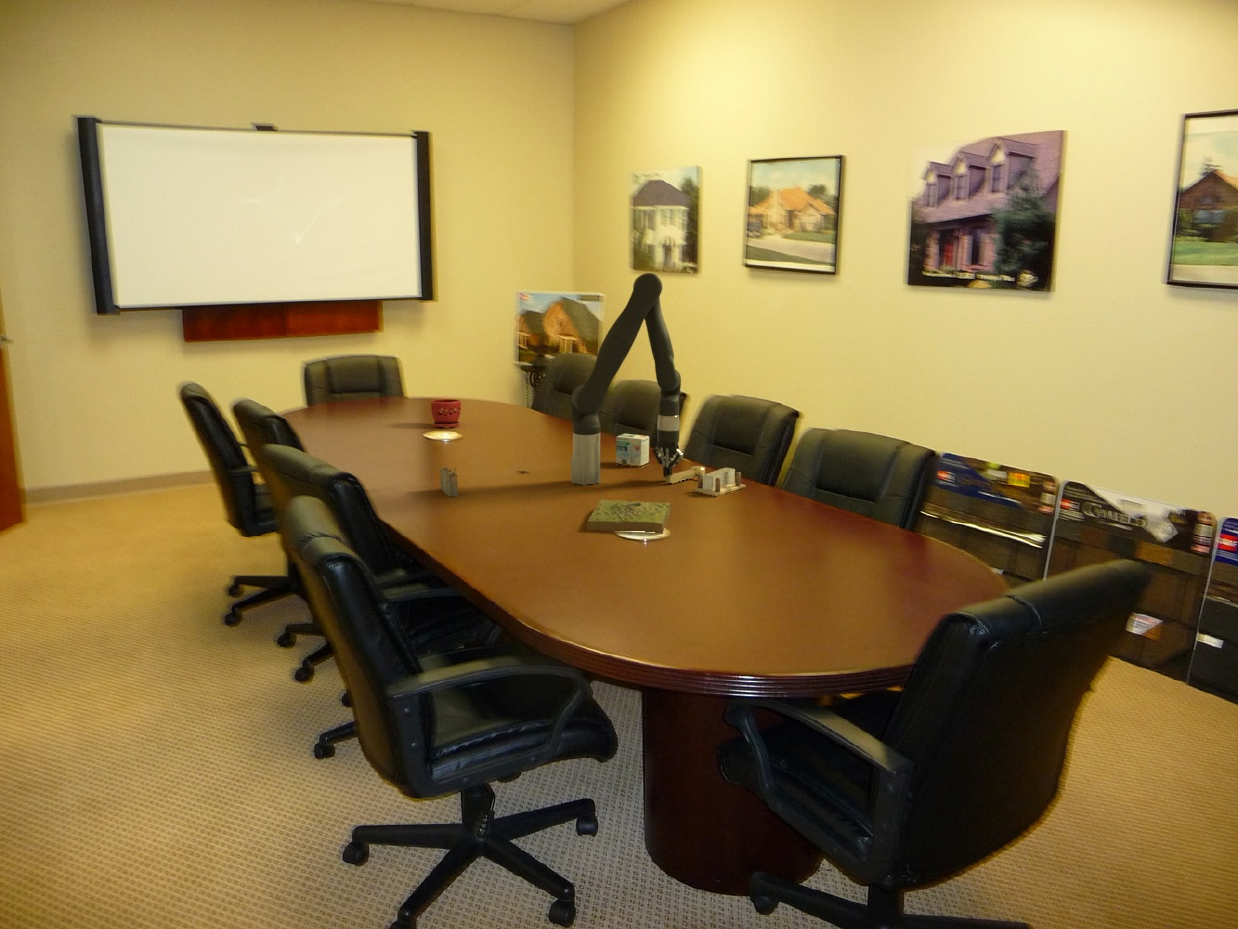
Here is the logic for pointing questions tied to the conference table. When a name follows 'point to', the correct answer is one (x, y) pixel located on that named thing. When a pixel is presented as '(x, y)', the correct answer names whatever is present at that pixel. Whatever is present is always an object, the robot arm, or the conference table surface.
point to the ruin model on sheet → (449, 481)
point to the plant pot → (446, 412)
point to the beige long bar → (685, 474)
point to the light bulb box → (632, 449)
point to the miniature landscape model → (629, 516)
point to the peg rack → (717, 486)
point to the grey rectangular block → (725, 475)
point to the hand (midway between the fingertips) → (667, 477)
